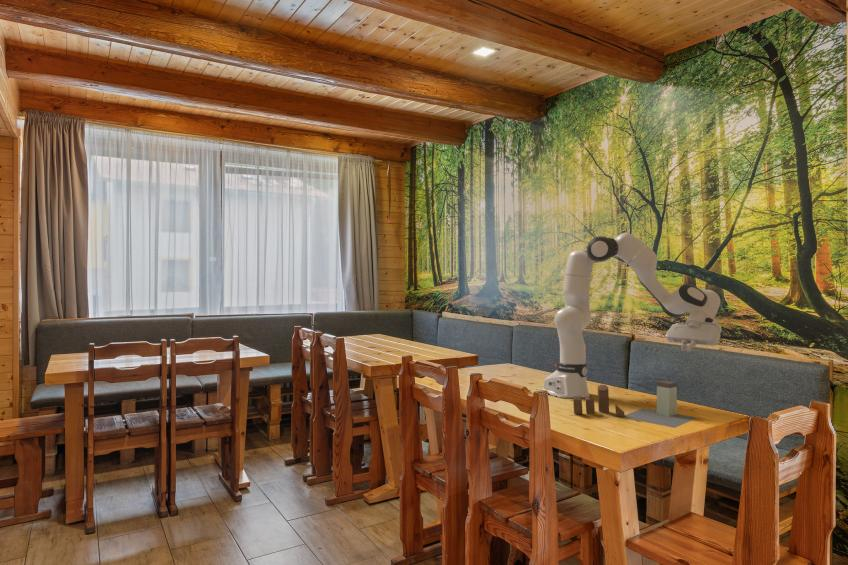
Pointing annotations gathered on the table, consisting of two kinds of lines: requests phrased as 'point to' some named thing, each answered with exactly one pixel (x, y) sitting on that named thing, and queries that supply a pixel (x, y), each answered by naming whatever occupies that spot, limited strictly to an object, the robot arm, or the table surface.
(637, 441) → the table surface
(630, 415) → the slate mat
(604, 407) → the wooden block set
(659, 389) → the sage block
